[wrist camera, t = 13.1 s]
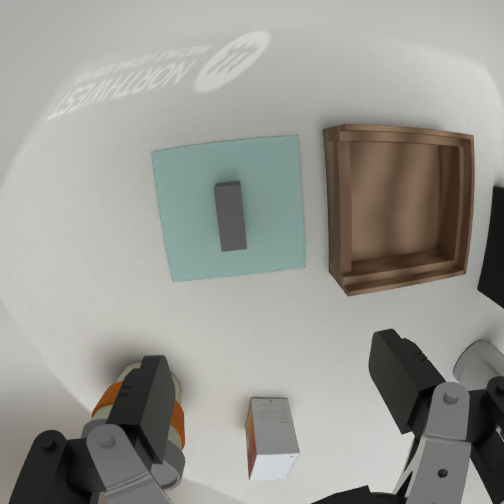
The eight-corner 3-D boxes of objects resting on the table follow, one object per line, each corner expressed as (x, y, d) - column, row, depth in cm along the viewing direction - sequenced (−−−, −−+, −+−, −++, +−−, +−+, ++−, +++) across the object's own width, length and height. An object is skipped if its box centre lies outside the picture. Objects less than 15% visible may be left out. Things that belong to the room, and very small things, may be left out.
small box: (250, 396, 39) (256, 454, 30) (288, 397, 40) (301, 452, 30) (244, 428, 42) (248, 480, 32) (278, 428, 43) (287, 480, 33)
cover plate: (295, 136, 29) (306, 132, 25) (303, 264, 34) (314, 282, 29) (153, 152, 29) (139, 152, 24) (173, 278, 34) (165, 298, 29)
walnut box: (440, 134, 29) (473, 135, 23) (436, 256, 34) (465, 273, 28) (323, 129, 29) (344, 124, 23) (328, 271, 34) (347, 296, 28)
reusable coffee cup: (153, 338, 35) (122, 427, 21) (210, 397, 39) (206, 484, 25) (94, 369, 37) (57, 445, 23) (149, 420, 41) (132, 495, 26)
